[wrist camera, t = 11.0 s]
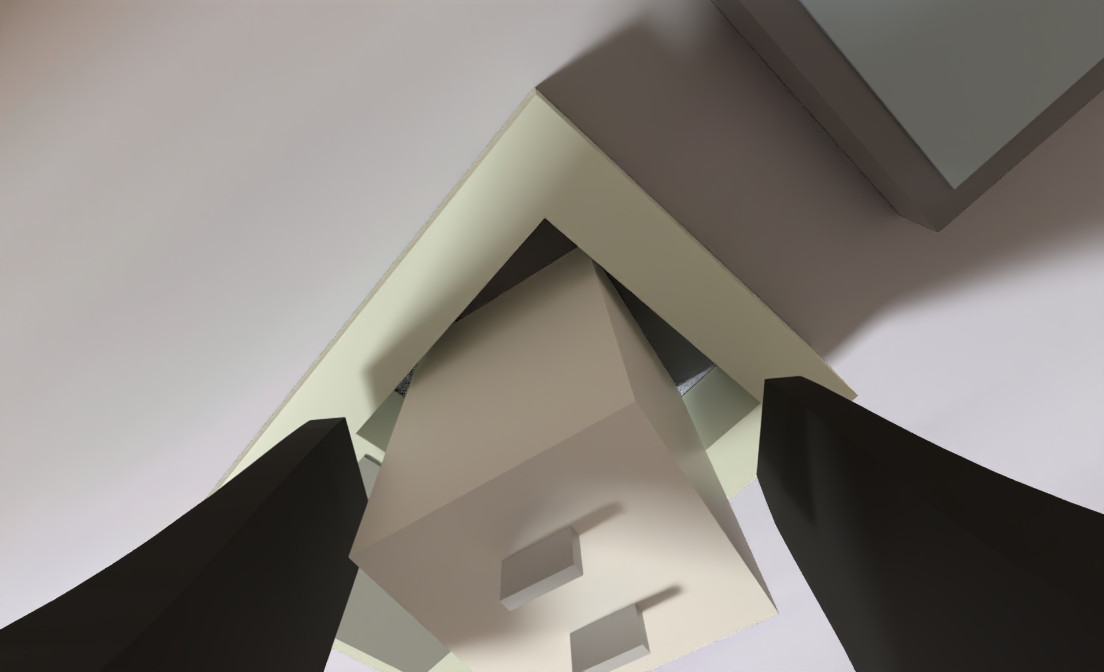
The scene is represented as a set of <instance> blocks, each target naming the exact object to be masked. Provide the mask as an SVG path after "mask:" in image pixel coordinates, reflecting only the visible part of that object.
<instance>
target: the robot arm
mask: <svg viewBox="0 0 1104 672" xmlns="http://www.w3.org/2000/svg"><path fill="white" fill-rule="evenodd" d="M756 475H757V478H758V481H759V483H760V486H761V489H762V491H763V494H764V497H765V499H766V502H767V504H768V507H769V509H770V512H771V514H772V517H773V519H774V522H775V524H776V526H777V528H778V530H779V532H780V534H781V536H782V538H783V540H784V541H785V543H786V545H787V547H788V549H789V551H790V552H791V554H792V556H793V558H794V560H795V561H796V563H797V565H798V567H799V569H800V571H801V572H802V574H803V576H804V578H805V579H806V581H807V583H808V585H809V587H810V588H811V590H812V592H813V594H814V596H815V597H816V599H817V601H818V603H819V604H820V606H821V608H822V610H823V612H824V613H825V615H826V617H827V619H828V621H829V622H830V624H831V626H832V628H833V630H834V631H835V633H836V635H837V637H838V639H839V640H840V642H841V644H842V646H843V648H844V649H845V651H846V653H847V655H848V657H849V659H850V661H851V663H852V665H853V667H854V669H855V671H856V672H1104V514H1102V513H1099V512H1096V511H1093V510H1090V509H1088V508H1085V507H1082V506H1079V505H1076V504H1074V503H1071V502H1069V501H1066V500H1063V499H1061V498H1058V497H1056V496H1053V495H1051V494H1048V493H1046V492H1043V491H1041V490H1038V489H1035V488H1033V487H1030V486H1028V485H1025V484H1023V483H1020V482H1018V481H1015V480H1013V479H1010V478H1008V477H1006V476H1003V475H1001V474H999V473H996V472H994V471H992V470H989V469H987V468H985V467H983V466H981V465H978V464H976V463H974V462H972V461H970V460H968V459H965V458H963V457H961V456H959V455H957V454H955V453H952V452H950V451H948V450H946V449H944V448H942V447H940V446H938V445H936V444H934V443H932V442H930V441H927V440H925V439H923V438H921V437H919V436H917V435H915V434H913V433H911V432H909V431H908V430H906V429H904V428H902V427H900V426H898V425H896V424H894V423H892V422H890V421H888V420H886V419H884V418H882V417H881V416H879V415H877V414H875V413H873V412H871V411H869V410H867V409H865V408H864V407H862V406H860V405H858V404H856V403H854V402H852V401H850V400H849V399H847V398H845V397H843V396H841V395H839V394H837V393H835V392H833V391H831V390H830V389H828V388H826V387H824V386H822V385H820V384H818V383H816V382H813V381H811V380H809V379H807V378H804V377H802V376H792V377H780V378H769V379H765V380H764V392H763V403H762V415H761V427H760V438H759V450H758V462H757V473H756ZM367 503H368V498H367V494H366V490H365V487H364V483H363V479H362V476H361V472H360V468H359V465H358V461H357V457H356V454H355V450H354V447H353V443H352V439H351V436H350V432H349V428H348V425H347V421H346V417H338V418H327V419H316V420H309V421H308V422H306V423H305V424H303V425H302V426H300V427H299V428H297V429H296V430H295V431H293V432H292V433H290V434H289V435H288V436H286V437H285V438H284V439H283V440H281V441H280V442H279V443H277V444H276V445H275V446H273V447H272V448H271V449H270V450H268V451H267V452H266V453H265V454H263V455H262V456H261V457H259V458H258V459H257V460H256V461H254V462H253V463H252V464H251V465H249V466H248V467H247V468H245V469H244V470H243V471H242V472H240V473H239V474H238V475H236V476H235V477H234V478H233V479H231V480H230V481H229V482H227V483H226V484H225V485H224V486H222V487H221V488H220V489H218V490H217V491H216V492H214V493H213V494H212V495H211V496H209V497H208V498H206V499H205V500H204V501H202V502H201V503H199V504H198V505H197V506H195V507H194V508H193V509H191V510H190V511H188V512H187V513H186V514H184V515H183V516H181V517H180V518H179V519H177V520H176V521H175V522H173V523H172V524H170V525H169V526H168V527H166V528H165V529H164V530H162V531H161V532H159V533H158V534H157V535H155V536H154V537H152V538H151V539H150V540H148V541H147V542H145V543H144V544H142V545H141V546H139V547H138V548H136V549H135V550H133V551H132V552H130V553H129V554H127V555H126V556H124V557H123V558H121V559H120V560H118V561H116V562H115V563H113V564H112V565H110V566H109V567H107V568H105V569H104V570H102V571H100V572H99V573H97V574H96V575H94V576H92V577H91V578H89V579H88V580H86V581H84V582H83V583H81V584H80V585H78V586H76V587H75V588H73V589H71V590H70V591H68V592H66V593H65V594H63V595H61V596H60V597H58V598H56V599H55V600H53V601H51V602H49V603H47V604H45V605H44V606H42V607H40V608H38V609H36V610H35V611H33V612H31V613H29V614H27V615H26V616H24V617H22V618H20V619H18V620H17V621H15V622H13V623H11V624H9V625H8V626H6V627H4V628H2V629H0V672H324V669H325V666H326V663H327V660H328V657H329V654H330V652H331V649H332V646H333V643H334V640H335V637H336V634H337V631H338V628H339V626H340V623H341V620H342V617H343V614H344V611H345V608H346V605H347V602H348V599H349V596H350V593H351V590H352V587H353V584H354V581H355V578H356V575H357V572H358V569H359V567H358V566H357V565H356V564H355V563H354V562H353V561H352V560H351V559H350V558H349V554H350V551H351V549H352V546H353V543H354V540H355V537H356V534H357V532H358V529H359V526H360V523H361V520H362V518H363V515H364V512H365V509H366V506H367Z"/></svg>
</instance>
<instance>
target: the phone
mask: <svg viewBox="0 0 1104 672" xmlns="http://www.w3.org/2000/svg"><path fill="white" fill-rule="evenodd" d="M711 1H712V2H713V3H714V4H715V5H716V6H717V8H718V9H719V10H720V11H721V12H722V13H723V14H724V16H725V17H726V18H727V19H728V20H729V21H730V22H731V24H732V25H733V26H734V27H735V28H736V29H737V30H738V32H739V33H740V34H741V35H742V36H743V37H744V38H745V40H746V41H747V42H748V43H749V44H750V45H751V46H752V47H753V49H754V50H755V51H756V52H757V53H758V54H759V55H760V57H761V58H762V59H763V60H764V61H765V62H766V63H767V65H768V66H769V67H770V68H771V69H772V70H773V71H774V73H775V74H776V75H777V76H778V77H779V78H780V79H781V80H782V82H783V83H784V84H785V85H786V86H787V87H788V88H789V90H790V91H791V92H792V93H793V94H794V95H795V96H796V98H797V99H798V100H799V101H800V102H801V103H802V104H803V106H804V107H805V108H806V109H807V110H808V111H809V112H810V113H811V115H812V116H813V117H814V118H815V119H816V120H817V121H818V123H819V124H820V125H821V126H822V127H823V128H824V129H825V131H826V132H827V133H828V134H829V135H830V136H831V137H832V139H833V140H834V141H835V142H836V143H837V144H838V145H839V147H840V148H841V149H842V150H843V151H844V152H845V153H846V154H847V156H848V157H849V158H850V159H851V160H852V161H853V162H854V164H855V165H856V166H857V167H858V168H859V169H860V170H861V172H862V173H863V174H864V175H865V176H866V177H867V178H868V180H869V181H870V182H871V183H872V184H873V185H874V186H875V187H876V189H877V190H878V191H879V192H880V193H881V194H882V195H883V197H884V198H885V199H886V200H887V201H888V202H889V203H890V205H891V206H892V207H893V208H894V209H895V210H896V211H897V213H898V214H899V215H900V216H902V217H904V218H906V219H909V220H911V221H913V222H916V223H918V224H920V225H923V226H925V227H927V228H930V229H932V230H934V231H937V232H939V231H940V230H942V229H943V228H944V227H945V226H946V225H947V224H949V223H950V222H951V221H952V220H953V219H954V218H955V217H957V216H958V215H959V214H960V213H961V212H962V211H963V210H965V209H966V208H967V207H968V206H969V205H970V204H972V203H973V202H974V201H975V200H976V199H977V198H978V197H980V196H981V195H982V194H983V193H984V192H985V191H987V190H988V189H989V188H990V187H991V186H992V185H993V184H995V183H996V182H997V181H998V180H999V179H1000V178H1002V177H1003V176H1004V175H1005V174H1006V173H1007V172H1008V171H1010V170H1011V169H1012V168H1013V167H1014V166H1015V165H1017V164H1018V163H1019V162H1020V161H1021V160H1022V159H1023V158H1025V157H1026V156H1027V155H1028V154H1029V153H1030V152H1032V151H1033V150H1034V149H1035V148H1036V147H1037V146H1038V145H1040V144H1041V143H1042V142H1043V141H1044V140H1045V139H1046V138H1048V137H1049V136H1050V135H1051V134H1052V133H1053V132H1055V131H1056V130H1057V129H1058V128H1059V127H1060V126H1061V125H1063V124H1064V123H1065V122H1066V121H1067V120H1068V119H1070V118H1071V117H1072V116H1073V115H1074V114H1075V113H1076V112H1078V111H1079V110H1080V109H1081V108H1082V107H1083V106H1085V105H1086V104H1087V103H1088V102H1089V101H1090V100H1091V99H1093V98H1094V97H1095V96H1096V95H1097V94H1098V93H1100V92H1101V91H1102V90H1103V89H1104V0H711Z"/></svg>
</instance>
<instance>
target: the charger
mask: <svg viewBox="0 0 1104 672" xmlns="http://www.w3.org/2000/svg"><path fill="white" fill-rule="evenodd" d="M349 558H350V559H351V560H352V561H353V562H354V563H355V564H356V565H357V566H358V567H360V568H361V569H362V570H363V571H364V572H365V573H366V574H367V575H368V576H369V577H370V578H371V579H373V580H374V581H375V582H376V583H377V584H378V585H379V586H380V587H381V588H382V589H383V590H385V591H386V592H387V593H388V594H389V595H390V596H391V597H392V598H393V599H394V600H395V601H397V602H398V603H399V604H400V605H401V606H402V607H403V608H404V609H405V610H406V611H407V612H408V613H410V614H411V615H412V616H413V617H414V618H415V619H416V620H417V621H418V622H419V623H420V624H422V625H423V626H424V627H425V628H426V629H427V630H428V631H429V632H430V633H431V634H432V635H434V636H435V637H436V638H437V639H438V640H439V641H440V642H441V643H442V644H443V645H444V646H446V647H447V648H448V649H449V650H450V651H451V652H452V653H453V654H454V655H455V656H456V657H457V658H459V659H460V660H461V661H462V662H463V663H464V664H465V665H466V666H467V667H468V668H469V669H471V670H472V671H473V672H648V671H650V670H652V669H655V668H657V667H659V666H662V665H664V664H666V663H668V662H671V661H673V660H675V659H678V658H680V657H682V656H684V655H687V654H689V653H691V652H694V651H696V650H698V649H700V648H703V647H705V646H707V645H710V644H712V643H714V642H717V641H719V640H721V639H723V638H726V637H728V636H730V635H733V634H735V633H737V632H739V631H742V630H744V629H746V628H749V627H751V626H753V625H755V624H758V623H760V622H762V621H765V620H767V619H769V618H771V617H774V616H776V615H778V614H779V612H778V610H777V608H776V606H775V603H774V601H773V599H772V597H771V595H770V592H769V590H768V588H767V586H766V583H765V581H764V579H763V577H762V575H761V572H760V570H759V568H758V566H757V563H756V561H755V559H754V557H753V555H752V552H751V550H750V548H749V546H748V543H747V541H746V539H745V537H744V534H743V532H742V530H741V528H740V526H739V523H738V521H737V519H736V517H735V514H734V512H733V510H732V508H731V506H730V503H729V501H728V499H727V497H726V494H725V492H724V490H723V488H722V486H721V483H720V481H719V479H718V477H717V474H716V472H715V470H714V468H713V466H712V463H711V461H710V459H709V457H708V454H707V452H706V450H705V448H704V446H703V443H702V441H701V439H700V437H699V434H698V432H697V430H696V428H695V426H694V423H693V421H692V419H691V417H690V414H689V412H688V410H687V408H686V406H685V403H684V401H683V399H682V397H681V394H680V392H679V390H678V388H677V386H676V384H675V383H674V381H673V380H672V378H671V376H670V375H669V373H668V372H667V370H666V368H665V367H664V365H663V364H662V362H661V361H660V359H659V357H658V356H657V354H656V353H655V351H654V349H653V348H652V346H651V345H650V343H649V341H648V340H647V338H646V337H645V335H644V334H643V332H642V330H641V329H640V327H639V326H638V324H637V322H636V321H635V319H634V318H633V316H632V314H631V313H630V311H629V310H628V308H627V307H626V305H625V303H624V302H623V300H622V299H621V297H620V295H619V294H618V292H617V291H616V289H615V287H614V286H613V284H612V283H611V281H610V279H609V278H608V276H607V275H606V273H605V272H604V270H603V268H602V267H601V265H599V264H598V263H597V262H596V261H595V260H594V259H592V258H591V257H590V256H589V255H588V254H587V253H585V252H584V251H583V250H582V249H581V248H580V247H577V248H575V249H574V250H572V251H571V252H569V253H567V254H566V255H564V256H562V257H561V258H559V259H558V260H556V261H554V262H553V263H551V264H550V265H548V266H546V267H545V268H543V269H541V270H540V271H538V272H537V273H535V274H533V275H532V276H530V277H529V278H527V279H525V280H524V281H522V282H520V283H519V284H517V285H516V286H514V287H512V288H511V289H509V290H507V291H506V292H504V293H503V294H501V295H499V296H498V297H496V298H495V299H493V300H491V301H490V302H488V303H486V304H485V305H483V306H482V307H480V308H478V309H477V310H475V311H474V312H472V313H470V314H469V315H467V316H465V317H464V318H462V319H461V320H459V321H457V322H456V323H454V324H452V325H451V326H449V328H448V329H447V330H446V331H445V332H444V333H443V334H442V336H441V337H440V338H439V339H438V340H437V341H436V342H435V343H434V345H433V346H432V347H431V348H430V349H429V350H428V351H427V353H426V354H425V355H424V356H423V357H422V358H421V359H420V361H419V362H418V363H417V365H416V368H415V371H414V374H413V377H412V379H411V382H410V385H409V388H408V391H407V394H406V396H405V399H404V402H403V405H402V408H401V410H400V413H399V416H398V419H397V422H396V425H395V427H394V430H393V433H392V436H391V439H390V441H389V444H388V447H387V450H386V453H385V456H384V458H383V461H382V464H381V467H380V470H379V472H378V475H377V478H376V481H375V484H374V487H373V489H372V492H371V495H370V498H369V501H368V503H367V506H366V509H365V512H364V515H363V518H362V520H361V523H360V526H359V529H358V532H357V534H356V537H355V540H354V543H353V546H352V549H351V551H350V554H349Z"/></svg>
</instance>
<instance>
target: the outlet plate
mask: <svg viewBox="0 0 1104 672" xmlns="http://www.w3.org/2000/svg"><path fill="white" fill-rule="evenodd" d="M544 218H546V219H547V220H548V221H549V222H550V223H552V224H553V225H554V226H555V227H556V228H557V229H559V230H560V231H561V232H562V233H563V234H564V235H566V236H567V237H568V238H569V239H570V240H571V241H573V242H574V243H575V244H576V245H577V246H578V247H580V248H581V249H582V250H583V251H584V252H585V253H587V254H588V255H589V256H590V257H591V258H592V259H594V260H595V261H596V262H597V263H598V264H599V265H601V266H602V267H603V268H604V269H605V270H606V271H608V272H609V273H610V274H611V275H612V276H613V277H615V278H616V279H617V280H618V281H619V282H620V283H622V284H623V285H624V286H625V287H626V288H627V289H629V290H630V291H631V292H632V293H633V294H634V295H636V296H637V297H638V298H639V299H640V300H641V301H643V302H644V303H645V304H646V305H647V306H648V307H650V308H651V309H652V310H653V311H654V312H655V313H657V314H658V315H659V316H660V317H661V318H662V319H664V320H665V321H666V322H667V323H668V324H669V325H671V326H672V327H673V328H674V329H675V330H676V331H678V332H679V333H680V334H681V335H682V336H683V337H685V338H686V339H687V340H688V341H689V342H690V343H692V344H693V345H694V346H695V347H696V348H697V349H699V350H700V351H701V352H702V353H703V354H704V355H706V356H707V357H708V358H709V359H710V360H711V361H713V362H714V363H715V364H716V366H715V367H714V368H713V369H712V370H711V371H710V372H709V373H707V374H706V375H705V376H704V377H703V378H702V379H701V380H700V381H699V382H698V383H696V384H695V385H694V386H693V387H692V388H691V389H690V390H689V391H688V392H686V393H685V394H684V395H683V396H682V399H683V401H684V403H685V406H686V408H687V410H688V412H689V414H690V417H691V419H692V421H693V423H694V426H695V428H696V430H697V432H698V434H699V437H700V439H701V441H702V443H703V446H704V448H705V450H706V452H707V454H708V457H709V459H710V461H711V463H712V466H713V468H714V470H715V472H716V474H717V477H718V479H719V481H720V483H721V486H722V488H723V490H724V492H725V494H726V497H727V499H728V501H729V500H730V499H731V498H732V497H733V496H735V495H736V494H737V493H738V492H740V491H741V490H742V489H743V488H745V487H746V486H747V485H748V484H750V483H751V482H752V481H753V480H754V479H756V478H757V475H756V473H757V462H758V450H759V438H760V427H761V415H762V403H763V392H764V380H765V379H769V378H780V377H792V376H802V377H804V378H807V379H809V380H811V381H813V382H816V383H818V384H820V385H822V386H824V387H826V388H828V389H830V390H831V391H833V392H835V393H837V394H839V395H841V396H843V397H845V398H847V399H849V400H850V401H852V400H853V399H855V398H856V397H857V396H858V395H857V394H856V393H855V392H854V391H853V390H852V389H851V388H850V387H849V386H848V385H847V384H846V383H845V382H844V381H843V380H842V379H841V378H840V377H839V376H838V375H837V373H836V372H835V371H834V370H833V369H832V368H831V367H830V366H829V365H828V364H827V363H826V362H825V361H824V360H823V359H822V358H821V357H820V356H819V355H818V354H817V353H816V352H815V351H814V350H813V349H812V348H811V347H810V346H809V345H808V344H807V343H806V342H805V341H804V340H803V339H802V338H801V337H799V336H798V335H797V334H796V333H795V332H794V331H793V330H792V329H791V328H790V327H789V326H788V325H787V324H786V323H785V322H784V321H782V320H781V319H780V318H779V317H778V316H777V315H776V314H775V313H774V312H773V311H772V310H771V309H770V308H769V307H768V306H767V305H765V304H764V303H763V302H762V301H761V300H760V299H759V298H758V297H757V296H756V295H755V294H754V293H753V292H752V291H751V290H750V289H748V288H747V287H746V286H745V285H744V284H743V283H742V282H741V281H740V280H739V279H738V278H737V277H736V276H735V275H734V274H732V273H731V272H730V271H729V270H728V269H727V268H726V267H725V266H724V265H723V264H722V263H721V262H720V261H719V260H718V259H717V258H715V257H714V256H713V255H712V254H711V253H710V252H709V251H708V250H707V249H706V248H705V247H704V246H703V245H702V244H701V243H700V242H698V241H697V240H696V239H695V238H694V237H693V236H692V235H691V234H690V233H689V232H688V231H687V230H686V229H685V228H684V227H683V226H681V225H680V224H679V223H678V222H677V221H676V220H675V219H674V218H673V217H672V216H671V215H670V214H669V213H668V212H667V211H665V210H664V209H663V208H662V207H661V206H660V205H659V204H658V203H657V202H656V201H655V200H654V199H653V198H652V197H651V196H650V195H648V194H647V193H646V192H645V191H644V190H643V189H642V188H641V187H640V186H639V185H638V184H637V183H636V182H635V181H634V180H633V179H631V178H630V177H629V176H628V175H627V174H626V173H625V172H624V171H623V170H622V169H621V168H620V167H619V166H618V165H617V164H616V163H614V162H613V161H612V160H611V159H610V158H609V157H608V156H607V155H606V154H605V153H604V152H603V151H602V150H601V149H600V148H598V147H597V146H596V145H595V144H594V143H593V142H592V141H591V140H590V139H589V138H588V137H587V136H586V135H585V134H584V133H583V132H581V131H580V130H579V129H578V128H577V127H576V126H575V125H574V124H573V123H572V122H571V121H570V120H569V119H568V118H567V117H566V116H564V115H563V114H562V113H561V112H560V111H559V110H558V109H557V108H556V107H555V106H554V105H553V104H552V103H551V102H550V101H549V100H547V99H546V98H545V97H544V96H543V95H542V94H541V93H540V92H539V91H538V90H537V89H536V88H535V87H534V89H533V90H532V91H531V92H530V94H529V95H528V96H527V97H526V99H525V100H524V101H523V102H522V104H521V105H520V106H519V107H518V109H517V110H516V111H515V112H514V114H513V115H512V116H511V117H510V119H509V120H508V121H507V122H506V124H505V125H504V126H503V127H502V129H501V130H500V131H499V132H498V134H497V135H496V136H495V137H494V139H493V140H492V141H491V142H490V144H489V145H488V146H487V147H486V149H485V150H484V151H483V152H482V154H481V155H480V156H479V157H478V159H477V160H476V161H475V162H474V164H473V165H472V166H471V167H470V169H469V170H468V171H467V172H466V174H465V175H464V176H463V177H462V179H461V180H460V181H459V182H458V184H457V185H456V186H455V187H454V189H453V190H452V191H451V192H450V194H449V195H448V196H447V197H446V199H445V200H444V201H443V202H442V204H441V205H440V206H439V207H438V209H437V210H436V211H435V212H434V214H433V215H432V216H431V217H430V219H429V220H428V221H427V222H426V224H425V225H424V226H423V227H422V229H421V230H420V231H419V232H418V234H417V235H416V236H415V237H414V239H413V240H412V241H411V242H410V244H409V245H408V246H407V247H406V249H405V250H404V251H403V252H402V254H401V255H400V256H399V257H398V259H397V260H396V261H395V262H394V264H393V265H392V266H391V267H390V269H389V270H388V271H387V272H386V274H385V275H384V276H383V277H382V279H381V280H380V281H379V282H378V284H377V285H376V286H375V287H374V289H373V290H372V291H371V292H370V294H369V295H368V296H367V297H366V299H365V300H364V301H363V302H362V304H361V305H360V306H359V307H358V309H357V310H356V311H355V312H354V314H353V315H352V316H351V317H350V319H349V320H348V321H347V322H346V324H345V325H344V326H343V327H342V329H341V330H340V331H339V332H338V334H337V335H336V336H335V337H334V339H333V340H332V341H331V342H330V344H329V345H328V346H327V347H326V349H325V350H324V351H323V353H322V354H321V355H320V356H319V358H318V359H317V360H316V361H315V363H314V364H313V365H312V366H311V368H310V369H309V370H308V371H307V373H306V374H305V375H304V376H303V378H302V379H301V380H300V381H299V383H298V384H297V385H296V386H295V388H294V389H293V390H292V391H291V393H290V394H289V395H288V396H287V398H286V399H285V400H284V401H283V403H282V404H281V405H280V406H279V408H278V409H277V410H276V411H275V413H274V414H273V415H272V416H271V418H270V419H269V420H268V421H267V423H266V424H265V425H264V426H263V428H262V429H261V430H260V431H259V433H258V434H257V435H256V436H255V438H254V439H253V440H252V441H251V443H250V444H249V445H248V446H247V448H246V449H245V450H244V451H243V453H242V454H241V455H240V456H239V458H238V459H237V460H236V461H235V463H234V464H233V465H232V466H231V468H230V469H229V470H228V471H227V473H226V474H225V475H224V476H223V478H222V479H221V480H220V481H219V483H218V484H217V485H216V486H215V488H214V489H213V490H212V491H211V493H210V494H209V495H208V496H207V498H208V497H209V496H211V495H212V494H213V493H214V492H216V491H217V490H218V489H220V488H221V487H222V486H224V485H225V484H226V483H227V482H229V481H230V480H231V479H233V478H234V477H235V476H236V475H238V474H239V473H240V472H242V471H243V470H244V469H245V468H247V467H248V466H249V465H251V464H252V463H253V462H254V461H256V460H257V459H258V458H259V457H261V456H262V455H263V454H265V453H266V452H267V451H268V450H270V449H271V448H272V447H273V446H275V445H276V444H277V443H279V442H280V441H281V440H283V439H284V438H285V437H286V436H288V435H289V434H290V433H292V432H293V431H295V430H296V429H297V428H299V427H300V426H302V425H303V424H305V423H306V422H308V421H309V420H316V419H327V418H338V417H346V421H347V425H348V428H349V432H350V436H351V439H352V443H353V447H354V450H355V454H356V457H357V461H358V465H359V468H360V472H361V476H362V479H363V483H364V487H365V490H366V494H367V498H368V501H369V498H370V495H371V492H372V489H373V487H374V484H375V481H376V478H377V475H378V472H379V470H380V467H381V464H382V461H383V458H384V456H385V453H386V450H387V447H388V444H389V441H390V439H391V436H392V433H393V430H394V427H395V425H396V422H397V419H398V416H399V413H400V410H401V408H402V405H403V402H404V399H405V397H403V396H402V395H400V394H399V393H397V392H396V391H394V389H395V388H396V387H397V386H398V385H399V383H400V382H401V381H402V380H403V379H404V378H405V377H406V375H407V374H408V373H409V372H410V371H411V370H412V369H413V367H414V366H415V365H416V364H417V363H418V362H419V361H420V359H421V358H422V357H423V356H424V355H425V354H426V353H427V351H428V350H429V349H430V348H431V347H432V346H433V345H434V343H435V342H436V341H437V340H438V339H439V338H440V337H441V336H442V334H443V333H444V332H445V331H446V330H447V329H448V328H449V326H450V325H451V324H452V323H453V322H454V321H455V320H456V318H457V317H458V316H459V315H460V314H461V313H462V312H463V310H464V309H465V308H466V307H467V306H468V305H469V304H470V302H471V301H472V300H473V299H474V298H475V297H476V296H477V294H478V293H479V292H480V291H481V290H482V289H483V288H484V286H485V285H486V284H487V283H488V282H489V281H490V280H491V278H492V277H493V276H494V275H495V274H496V273H497V272H498V270H499V269H500V268H501V267H502V266H503V265H504V264H505V262H506V261H507V260H508V259H509V258H510V257H511V256H512V255H513V253H514V252H515V251H516V250H517V249H518V248H519V247H520V245H521V244H522V243H523V242H524V241H525V240H526V239H527V237H528V236H529V235H530V234H531V233H532V232H533V231H534V229H535V228H536V227H537V226H538V225H539V224H540V223H541V221H542V220H543V219H544ZM332 648H333V649H335V650H337V651H339V652H341V653H343V654H345V655H347V656H349V657H351V658H353V659H355V660H357V661H359V662H361V663H363V664H365V665H367V666H369V667H372V668H374V669H376V670H378V671H380V672H473V671H472V670H471V669H469V668H468V667H467V666H466V665H465V664H464V663H463V662H462V661H461V660H460V659H459V658H457V657H456V656H455V655H454V654H453V653H452V652H451V651H450V650H449V649H448V648H447V647H446V646H444V645H443V644H442V643H441V642H440V641H439V640H438V639H437V638H436V637H435V636H434V635H432V634H431V633H430V632H429V631H428V630H427V629H426V628H425V627H424V626H423V625H422V624H420V623H419V622H418V621H417V620H416V619H415V618H414V617H413V616H412V615H411V614H410V613H408V612H407V611H406V610H405V609H404V608H403V607H402V606H401V605H400V604H399V603H398V602H397V601H395V600H394V599H393V598H392V597H391V596H390V595H389V594H388V593H387V592H386V591H385V590H383V589H382V588H381V587H380V586H379V585H378V584H377V583H376V582H375V581H374V580H373V579H371V578H370V577H369V576H368V575H367V574H366V573H365V572H364V571H363V570H362V569H361V568H360V567H359V569H358V572H357V575H356V578H355V581H354V584H353V587H352V590H351V593H350V596H349V599H348V602H347V605H346V608H345V611H344V614H343V617H342V620H341V623H340V626H339V628H338V631H337V634H336V637H335V640H334V643H333V646H332Z"/></svg>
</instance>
